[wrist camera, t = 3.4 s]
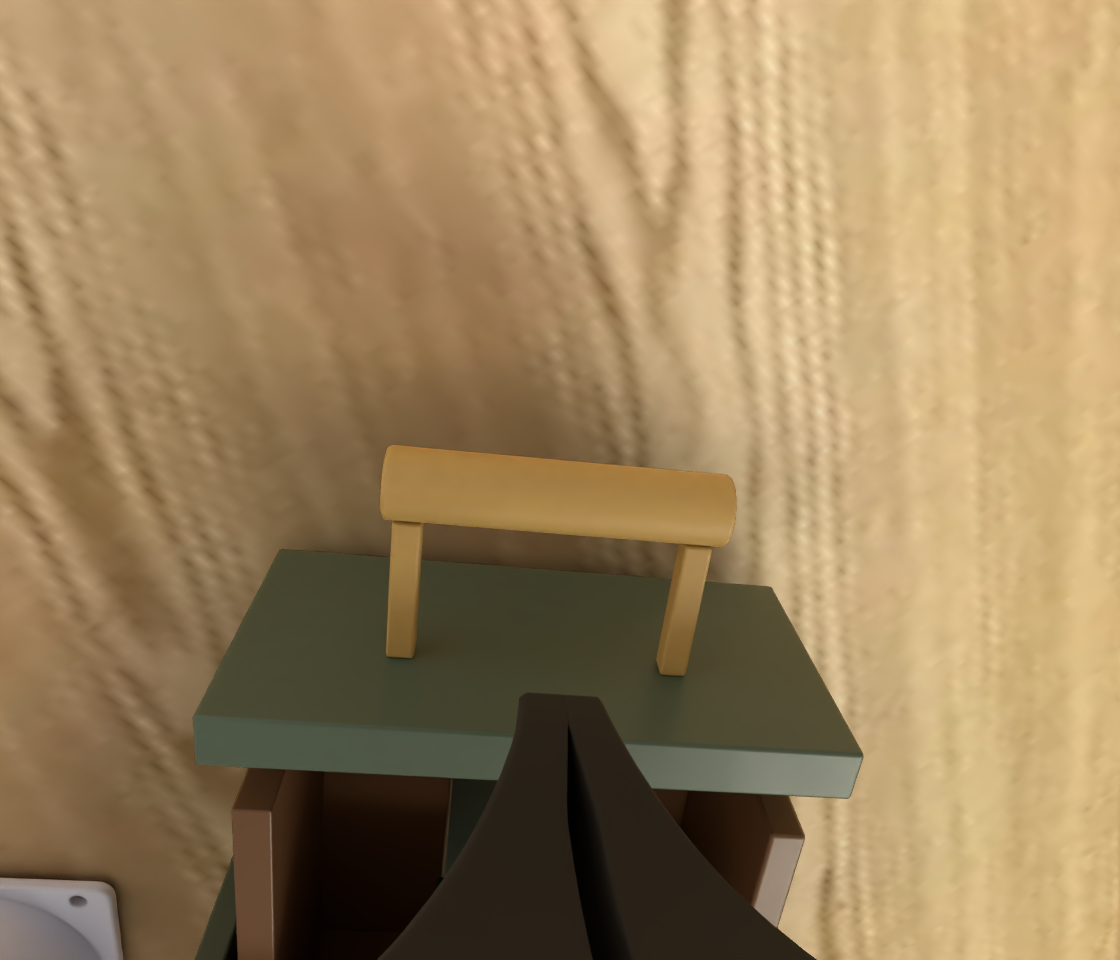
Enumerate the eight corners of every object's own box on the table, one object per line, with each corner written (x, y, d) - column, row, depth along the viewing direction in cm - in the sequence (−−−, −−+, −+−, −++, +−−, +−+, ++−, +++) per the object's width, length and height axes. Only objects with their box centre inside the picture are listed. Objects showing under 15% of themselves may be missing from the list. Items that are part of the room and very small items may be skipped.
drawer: (277, 370, 20) (175, 485, 14) (812, 422, 21) (934, 548, 15) (283, 915, 27) (218, 1150, 21) (685, 930, 29) (734, 1154, 22)
